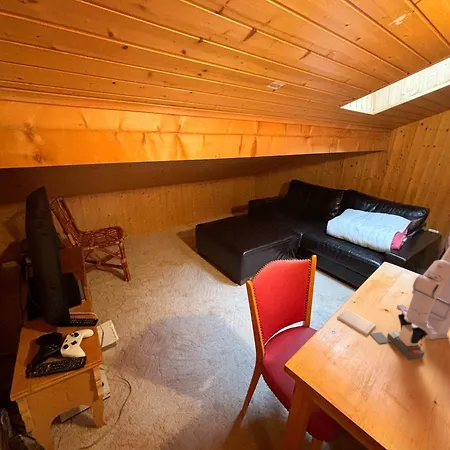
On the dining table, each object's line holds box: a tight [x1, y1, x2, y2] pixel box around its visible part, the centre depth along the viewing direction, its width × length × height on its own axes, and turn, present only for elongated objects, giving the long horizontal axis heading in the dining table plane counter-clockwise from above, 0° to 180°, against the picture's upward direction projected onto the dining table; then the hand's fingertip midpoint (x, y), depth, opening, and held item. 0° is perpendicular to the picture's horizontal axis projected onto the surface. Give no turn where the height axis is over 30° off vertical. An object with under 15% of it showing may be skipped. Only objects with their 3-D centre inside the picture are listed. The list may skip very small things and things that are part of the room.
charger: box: [398, 323, 419, 346], centre depth 88 cm, size 4×4×6 cm
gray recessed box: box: [386, 330, 425, 361], centre depth 90 cm, size 6×10×4 cm, turn 7°
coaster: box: [369, 331, 391, 345], centre depth 95 cm, size 5×5×1 cm
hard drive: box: [336, 308, 377, 337], centre depth 103 cm, size 2×8×12 cm
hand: (408, 337), depth 88 cm, fingers closed on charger, 4 cm apart
